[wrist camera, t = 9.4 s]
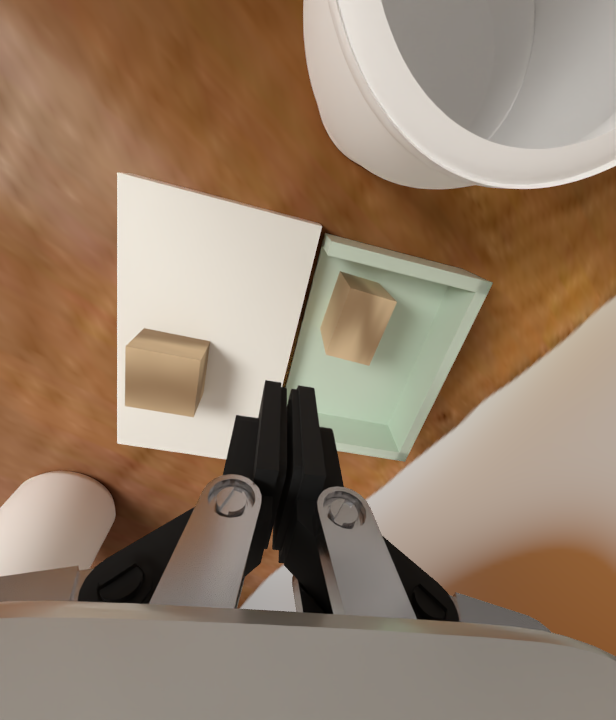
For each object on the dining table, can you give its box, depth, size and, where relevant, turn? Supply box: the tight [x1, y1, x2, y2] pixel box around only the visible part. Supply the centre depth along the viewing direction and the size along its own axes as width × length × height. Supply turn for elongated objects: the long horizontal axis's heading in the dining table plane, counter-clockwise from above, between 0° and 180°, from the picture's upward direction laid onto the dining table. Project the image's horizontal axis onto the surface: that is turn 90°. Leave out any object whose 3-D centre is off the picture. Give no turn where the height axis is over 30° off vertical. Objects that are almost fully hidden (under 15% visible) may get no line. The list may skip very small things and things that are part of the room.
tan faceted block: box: [320, 271, 397, 366], centre depth 23 cm, size 4×4×3 cm
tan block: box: [125, 328, 210, 417], centre depth 23 cm, size 4×4×3 cm
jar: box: [303, 0, 616, 189], centre depth 13 cm, size 11×10×15 cm
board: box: [117, 172, 322, 459], centre depth 25 cm, size 20×12×2 cm, turn 166°
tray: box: [285, 233, 493, 461], centre depth 25 cm, size 15×10×4 cm
